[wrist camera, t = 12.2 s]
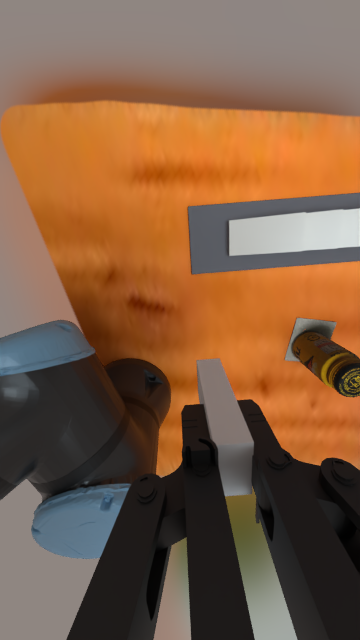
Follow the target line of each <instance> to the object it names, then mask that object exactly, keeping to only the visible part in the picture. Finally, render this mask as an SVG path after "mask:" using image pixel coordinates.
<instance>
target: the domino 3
mask: <svg viewBox="0 0 360 640" xmlns="http://www.w3.org/2000/svg"><path fill="white" fill-rule="evenodd" d="M344 247H360V208H359V209H349V210H343V215H342V222H341V229H340V236H339V243H338V248H344Z"/></svg>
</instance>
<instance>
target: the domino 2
mask: <svg viewBox="0 0 360 640" xmlns="http://www.w3.org/2000/svg"><path fill="white" fill-rule="evenodd" d="M342 215H343V209H340V210H331V211H321V212H312V213H306V216H305V227H304V238H303V249H302V251H306V250H322V249H337V248H338V243H339V236H340V229H341V222H342Z"/></svg>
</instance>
